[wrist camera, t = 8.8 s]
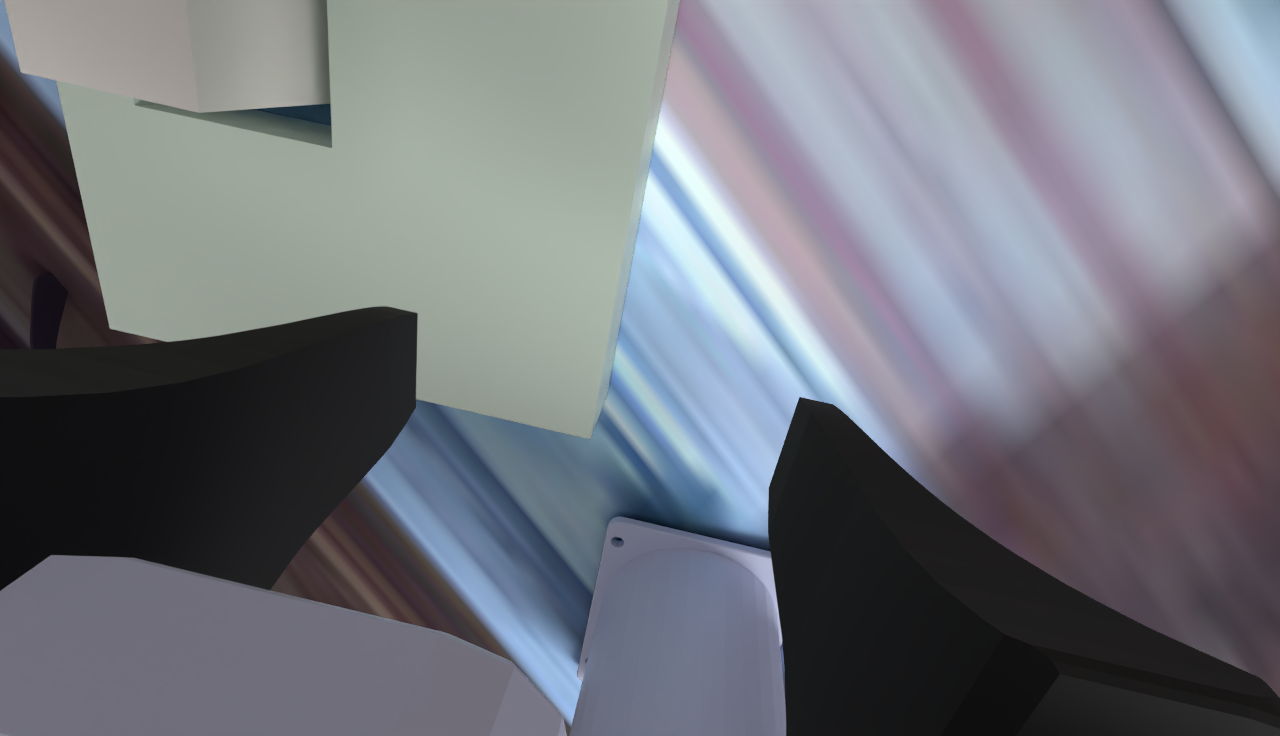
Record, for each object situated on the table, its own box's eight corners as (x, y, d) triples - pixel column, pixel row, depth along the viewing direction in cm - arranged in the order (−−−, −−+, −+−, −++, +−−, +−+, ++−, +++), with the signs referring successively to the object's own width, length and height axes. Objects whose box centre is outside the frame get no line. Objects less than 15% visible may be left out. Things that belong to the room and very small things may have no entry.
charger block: (362, 101, 19) (199, 112, 13) (237, 73, 19) (21, 72, 13) (360, -53, 17) (172, -119, 11) (223, -83, 17) (-34, -163, 11)
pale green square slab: (607, 395, 22) (590, 439, 19) (183, 298, 23) (109, 328, 20) (711, -169, 15) (707, -223, 12) (91, -290, 16) (-41, -365, 13)
